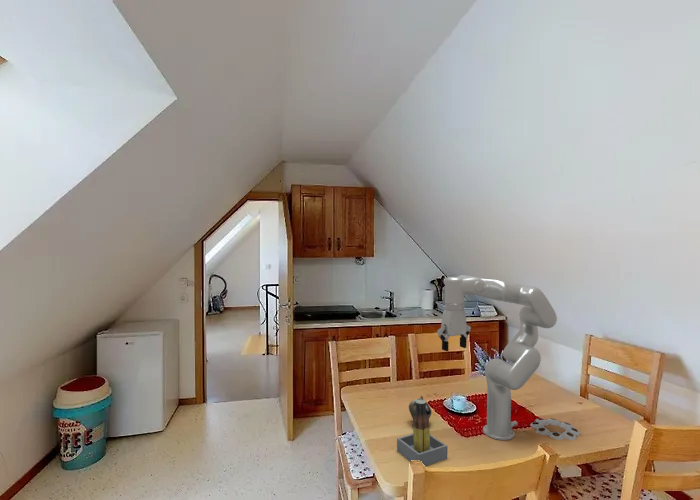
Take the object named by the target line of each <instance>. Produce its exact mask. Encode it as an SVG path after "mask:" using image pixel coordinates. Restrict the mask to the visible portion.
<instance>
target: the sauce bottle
mask: <svg viewBox="0 0 700 500" xmlns="http://www.w3.org/2000/svg"><path fill="white" fill-rule="evenodd" d="M426 402H427V401H426V400H424V399H423V400H416V401H415V405H416V413H415V416H414V418H412V434H413V441H414V450H416V451H417V452H418V453H422V452H425V451H428V450H430V432H431V431H430V418H429V417H428V416H427V414H426Z"/></svg>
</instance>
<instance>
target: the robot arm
mask: <svg viewBox="0 0 700 500" xmlns="http://www.w3.org/2000/svg"><path fill="white" fill-rule="evenodd" d="M444 290H445V291H444V298H445V299H444V300H445V301H444V303H445V304H444V310H443V312H442V317H441V325H440V328H438V329H437V330H436V332H437V336H438V337H439V339H440V341H441V350H442V351H445V352H449V341H448V340H449V339H450V337H455V336H460V337H459V347H460V348H463V349H467V339H468V338H469V335H470V333H471V332H470V331H471V328H472V327H471V325H468V324H467V317H466V316H467V314H466V310H465V306H466V304H465V295H468V296H469V295H471V296H479V297H483V298H486V299H488V300H489V299H490V300H494V301H499V302H503V303H509V304H514V305H521V306H522V307H521V308H520V309H519V313H518V316H519V317H518V318H519V324H520V326H519V330H518V331H517V333H516V334H515V335H514V336H513V338H512V339H511V340H510V341H509V342H508V343H507V344H506V345H505V347H504V349H503V351H502V355H503V359H505V360H503V359H500V358H492V359H490V360H488V361H487V362H486V364H485V368H484V374H485V378H486V387H487V388H486V391H487V392H486V394H487V395H486V424H485V425H484V426H483V427H482V432H483V434H484V435H485V436H487V437H489V438H492V439H495V440H499V441H509V440H513V438H515V431H514V430H513V428H514V427H516V426H518V422H517V421H516V420H514V421H511V416H512V415H511V414H512V413H511V411H512V406H511V405H512V392H511V390H513V391H518V390H519V389H521V388H522V387H523V386H525V384H526V383H527V382H528V381H529V379H530V378H531V377H532V376H533V375H534V373H535V372H536V371H537V370H538V368H539V366H540V364H541V361H542V359H541V358H542V357H541V353H540V351H539V350H538V349H537V348H535V346H536V345H537V343H538V341H539V331H538V328H539V327H540V328H542V329H551V328H553V327H554V326H556V324H557V321H558V318H557V317H558V316H557V313H556V311H555V309H554V307H553V306H552V304H551V302H550V301H549V300H548V297H547V296H546V295H545V294H544V292H543V291H542V290H541V289H540V288H539V287H536V286H530V285H525V284H524V285H523V284H520V283H519V284H517V283H513V282H507V281H503V280H498V279H487V278H481V277H478V276H473V275H468V274H467V275H465V274H460V275H458V276H448V277H446V278H445V289H444Z"/></svg>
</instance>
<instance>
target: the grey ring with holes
mask: <svg viewBox="0 0 700 500" xmlns="http://www.w3.org/2000/svg"><path fill="white" fill-rule="evenodd" d="M539 419H541V420H539ZM535 421H536V422H535ZM533 423H534V424H533ZM536 423H538V424H536ZM529 425H530V427H531V428H533V429H535V432H536V433H537V434H538V435H541V436H548V437H550V438H551V439H554V440H557V441H559V440H560V441H561V440H562V441H563V440H564V439H565V440H571V441H575V440H577V439H578V438H577V436H578V437H579V436H580V435H581V432H580V431H579V430H578V429H576V428H575V427H574V426H573V425H572V424H571V423H569V422H566V421H563V422H560V420H558V419H556V418H553V417H552V418H548V419H545V418H540V417H538V418H536V419H535V420H534V421H533V422H531V423H530V424H529ZM549 425H552V426H557V427H560V428H561V429H564V432H562V433H560V432H558V431H550V430H549V429H547V428H546V426H549ZM540 429H541V430H542V431H541V430H540ZM554 434H555V435H554ZM569 434H570V435H571V436H570V435H569ZM556 435H558V436H556Z"/></svg>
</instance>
